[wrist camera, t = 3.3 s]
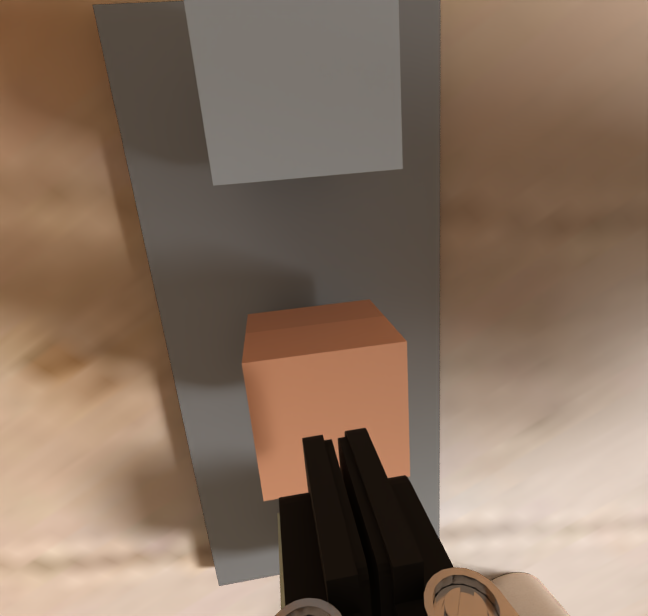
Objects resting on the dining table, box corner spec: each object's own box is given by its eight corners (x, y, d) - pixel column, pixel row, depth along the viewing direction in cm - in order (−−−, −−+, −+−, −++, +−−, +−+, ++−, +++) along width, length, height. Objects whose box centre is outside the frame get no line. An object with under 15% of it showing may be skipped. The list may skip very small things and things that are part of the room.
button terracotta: (369, 299, 17) (406, 341, 13) (375, 405, 19) (410, 476, 14) (247, 314, 16) (241, 363, 12) (263, 422, 18) (263, 501, 14)
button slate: (354, 17, 14) (397, -59, 10) (363, 172, 15) (402, 168, 11) (205, 24, 13) (175, -53, 9) (228, 184, 15) (213, 185, 10)
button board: (428, 2, 17) (466, -39, 14) (431, 528, 26) (455, 577, 23) (104, 17, 16) (64, -25, 13) (221, 567, 24) (214, 625, 21)
